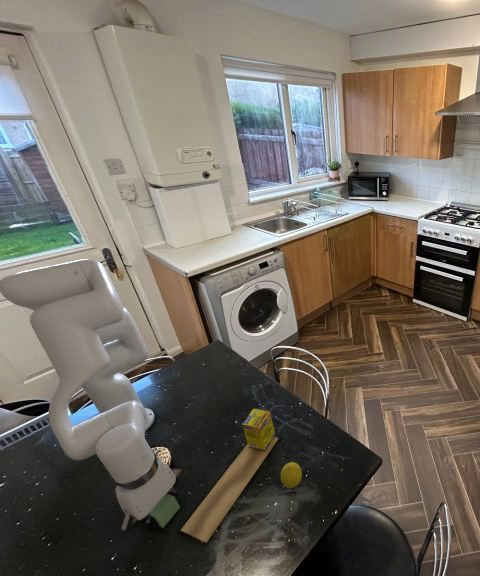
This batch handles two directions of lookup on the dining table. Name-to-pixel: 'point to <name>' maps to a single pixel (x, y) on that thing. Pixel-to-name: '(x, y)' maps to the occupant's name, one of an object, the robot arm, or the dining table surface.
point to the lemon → (291, 475)
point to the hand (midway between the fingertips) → (163, 512)
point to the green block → (165, 510)
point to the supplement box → (259, 429)
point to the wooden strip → (225, 493)
